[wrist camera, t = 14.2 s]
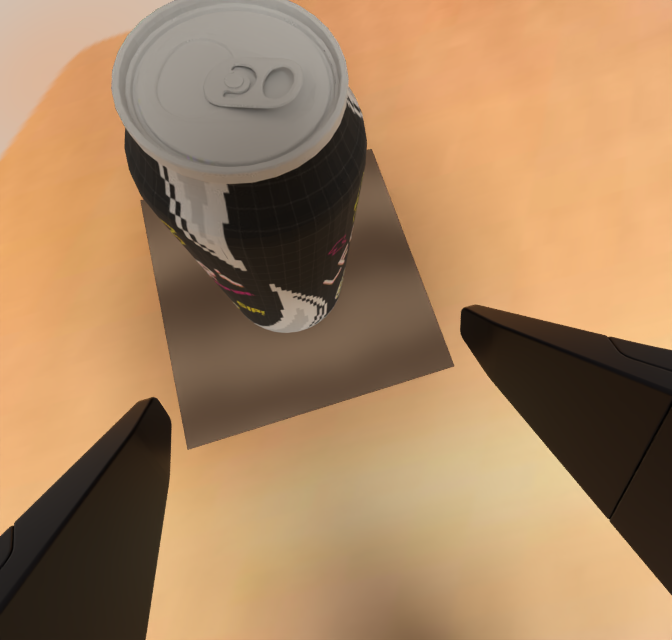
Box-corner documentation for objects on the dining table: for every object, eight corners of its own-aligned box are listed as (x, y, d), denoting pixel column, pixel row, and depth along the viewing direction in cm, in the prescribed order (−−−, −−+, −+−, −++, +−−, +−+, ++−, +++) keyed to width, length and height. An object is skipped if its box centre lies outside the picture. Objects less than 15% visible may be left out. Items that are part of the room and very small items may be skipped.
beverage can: (330, 345, 17) (354, 229, 6) (223, 325, 17) (21, 167, 6) (348, 247, 19) (398, -9, 7) (249, 228, 19) (132, -60, 7)
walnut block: (434, 371, 20) (454, 366, 17) (208, 442, 19) (187, 449, 16) (365, 180, 23) (371, 148, 20) (164, 227, 22) (140, 200, 19)
